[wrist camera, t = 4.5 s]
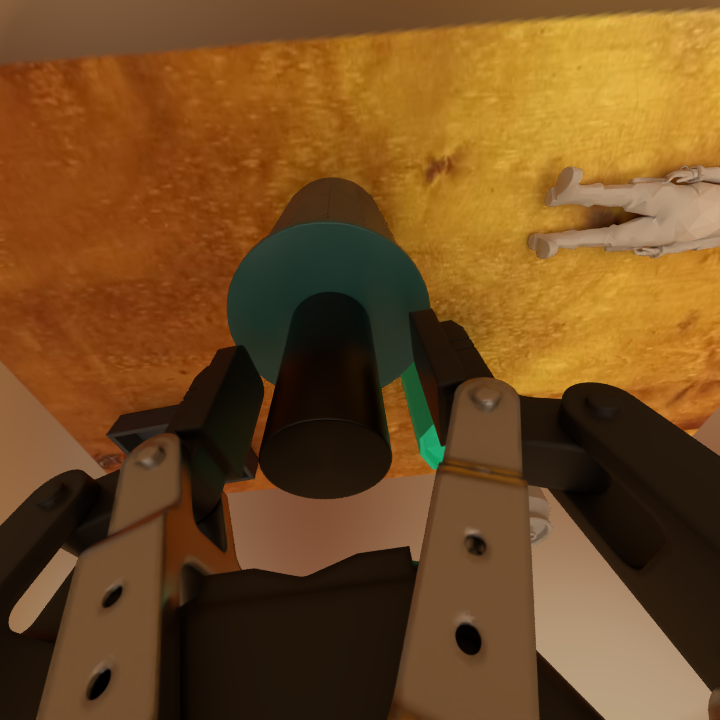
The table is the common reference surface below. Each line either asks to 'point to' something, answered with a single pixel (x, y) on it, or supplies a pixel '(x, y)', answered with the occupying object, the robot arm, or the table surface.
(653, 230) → the figurine
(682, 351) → the table surface
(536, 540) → the can
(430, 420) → the candle
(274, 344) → the pan lid
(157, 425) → the square tray
